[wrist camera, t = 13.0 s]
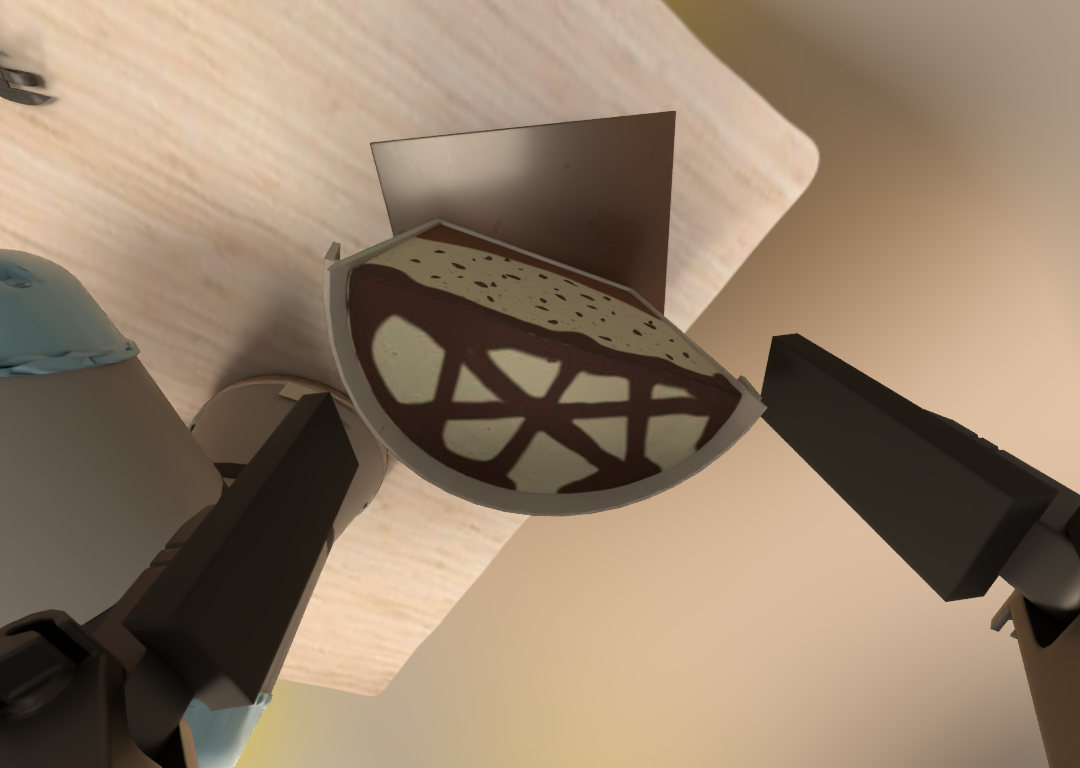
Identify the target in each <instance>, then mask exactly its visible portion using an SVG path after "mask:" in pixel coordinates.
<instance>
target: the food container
mask: <svg viewBox="0 0 1080 768" xmlns="http://www.w3.org/2000/svg"><path fill="white" fill-rule="evenodd" d="M323 299H324V306H325V314H326V321H327V329H328V335H329V340H330V346H331V349H332V352H333V356H334V359H335V362H336V365H337V368H338V371H339V375H340V378H341V381H342V383H343V384H344V386H345V388H346V390H347V392H348V394H349V396H350V398H351V400H352V402H353V404H354V406H355V408H356V410H357V412H358V413H359V414H360V416H361V417H362V419H363V420H364V421H365V423H366V424H367V425H368V427H369V428H370V430H371V431H372V432H373V434H374V435H375V436H376V438H377V439H378V440H379V441H380V442H381V443H382V444H383V445H384V446H385V447H386V448H387V449H388V450H389V451H390V452H391V453H392V454H393V455H394V456H395V457H396V458H397V459H398V460H399V461H400V462H402V463H403V464H404V465H406V466H407V467H408V468H410V469H411V470H412V471H414V472H415V473H416V474H418V475H419V476H420V477H422V478H423V479H425V480H426V481H428V482H430V483H432V484H433V485H435V486H437V487H439V488H441V489H442V490H444V491H446V492H448V493H450V494H452V495H455V496H457V497H460V498H462V499H465V500H467V501H469V502H472V503H474V504H477V505H481V506H485V507H489V508H492V509H496V510H500V511H504V512H510V513H517V514H525V515H532V516H571V515H582V514H592V513H597V512H602V511H607V510H611V509H616V508H621V507H624V506H627V505H630V504H633V503H636V502H639V501H642V500H645V499H648V498H650V497H653V496H655V495H657V494H659V493H662V492H664V491H666V490H668V489H670V488H673V487H675V486H676V485H678V484H680V483H682V482H683V481H685V480H687V479H688V478H690V477H692V476H693V475H695V474H697V473H699V472H700V471H702V470H703V469H704V468H706V467H707V466H708V465H709V464H711V463H712V462H714V461H715V460H716V459H718V458H719V457H720V456H722V455H723V454H724V453H726V451H728V450H729V449H730V448H731V447H732V446H733V445H734V444H735V443H736V442H737V441H738V440H739V439H740V438H741V437H742V436H743V435H744V434H745V433H746V432H747V431H748V430H749V429H750V428H751V427H752V426H753V424H754V423H755V422H756V421H757V420H758V418H759V417H760V416H761V415H762V414H763V413H764V411H765V410H766V409H767V407H766V406H765V405H764V404H763V403H762V402H761V401H760V400H761V399H762V397H761V396H760V395H759V393H758V392H757V391H756V390H755V389H754V387H752V385H751V384H750V383H749V382H748V380H747V379H746V378H745V377H743V376H740V377H739V378H738V379H736V378H735V377H733V376H732V375H731V374H730V373H728V371H726V370H725V369H724V368H723V367H722V366H721V365H719V364H718V363H717V362H716V361H715V360H714V359H713V358H712V357H710V356H709V355H708V354H707V353H706V352H705V351H703V350H702V349H701V348H700V347H699V346H698V345H697V344H695V343H694V342H693V341H692V340H691V339H690V338H689V337H687V336H686V335H685V334H684V333H683V332H682V331H681V330H679V329H678V328H677V327H676V326H675V325H674V324H672V323H671V322H670V321H669V320H668V319H667V318H666V317H664V316H663V315H662V314H661V313H660V312H659V311H658V310H656V309H655V308H654V307H653V306H652V305H651V304H650V303H648V302H647V301H646V300H645V299H644V298H643V297H641V296H640V295H639V294H638V293H637V292H636V291H635V290H633V289H631V288H629V287H626V286H623V285H620V284H618V283H615V282H612V281H609V280H607V279H604V278H601V277H598V276H595V275H593V274H590V273H587V272H584V271H582V270H579V269H576V268H573V267H571V266H568V265H565V264H562V263H560V262H557V261H554V260H551V259H549V258H546V257H543V256H540V255H538V254H535V253H532V252H529V251H527V250H524V249H521V248H518V247H515V246H513V245H510V244H507V243H504V242H502V241H499V240H496V239H493V238H491V237H488V236H485V235H482V234H480V233H477V232H474V231H471V230H469V229H466V228H463V227H460V226H458V225H455V224H452V223H449V222H446V221H444V220H441V219H438V218H436V219H434V220H432V221H430V222H427V223H425V224H423V225H420V226H418V227H416V228H414V229H411V230H409V231H407V232H404V233H402V234H400V235H398V236H395V237H393V238H391V239H388V240H386V241H384V242H382V243H379V244H377V245H375V246H372V247H370V248H368V249H366V250H363V251H361V252H359V253H356V254H354V255H352V256H350V257H347V258H345V259H343V260H340V244H339V243H335V242H333V243H332V245H331V247H330V249H329V251H328V253H327V255H326V257H325V258H324V286H323Z"/></svg>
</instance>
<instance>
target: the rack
mask: <svg viewBox="0 0 1080 768" xmlns="http://www.w3.org/2000/svg"><path fill="white" fill-rule="evenodd" d="M675 119H676V111H668V112H658V113H649V114H639V115H630V116H620V117H611V118H601V119H592V120H582V121H573V122H563V123H553V124H544V125H534V126H525V127H515V128H506V129H496V130H487V131H477V132H468V133H458V134H449V135H439V136H429V137H420V138H410V139H401V140H391V141H382V142H372V143H370V146H371V150H372V154H373V157H374V161H375V165H376V169H377V173H378V177H379V181H380V185H381V189H382V193H383V196H384V200H385V204H386V208H387V212H388V216H389V220H390V224H391V228H392V231H393V235H394V237H395V236H398V235H400V234H402V233H404V232H407V231H409V230H411V229H414V228H416V227H418V226H420V225H423V224H425V223H427V222H430V221H432V220H434V219H436V218H438V219H441V220H444V221H446V222H449V223H452V224H455V225H458V226H460V227H463V228H466V229H469V230H471V231H474V232H477V233H480V234H482V235H485V236H488V237H491V238H493V239H496V240H499V241H502V242H504V243H507V244H510V245H513V246H515V247H518V248H521V249H524V250H527V251H529V252H532V253H535V254H538V255H540V256H543V257H546V258H549V259H551V260H554V261H557V262H560V263H562V264H565V265H568V266H571V267H573V268H576V269H579V270H582V271H584V272H587V273H590V274H593V275H595V276H598V277H601V278H604V279H607V280H609V281H612V282H615V283H618V284H620V285H623V286H626V287H629V288H631V289H633V290H635V291H636V292H637V293H638V294H639V295H640V296H641V297H643V298H644V299H645V300H646V301H647V302H648V303H650V304H651V305H652V306H653V307H654V308H655V309H656V310H658V311H659V312H660V313H661V314H662V315H663V316H664V303H665V287H666V270H667V253H668V236H669V220H670V203H671V186H672V169H673V153H674V136H675Z"/></svg>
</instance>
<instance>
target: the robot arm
mask: <svg viewBox="0 0 1080 768" xmlns="http://www.w3.org/2000/svg"><path fill="white" fill-rule="evenodd" d="M138 353H140V350H139V348H138V347H137V345H136V344H135V342H133V341H131V340H129V339H127V338H124V337H123V335H122V334H121V333H120V332H119V330H118V329H117V328H116V327H115V325H114V324H113V323H112V322H111V320H110V319H109V318H108V317H107V315H106V314H105V313H104V311H103V310H102V309H101V308H100V306H99V305H98V304H97V303H96V301H95V300H94V299H93V298H92V296H91V295H90V294H89V293H88V291H87V290H86V289H85V287H84V286H83V285H82V284H81V282H80V281H79V280H78V279H77V278H76V277H75V276H73V275H72V274H71V273H70V272H68V271H67V270H66V269H64V268H63V267H61V266H60V265H58V264H56V263H54V262H52V261H50V260H47V259H45V258H42V257H40V256H37V255H33V254H30V253H26V252H22V251H16V250H9V249H0V768H233V767H234V766H235V765H236V763H237V761H238V760H239V758H240V756H241V754H242V752H243V750H244V748H245V746H246V744H247V742H248V740H249V738H250V736H251V734H252V732H253V730H254V728H255V726H256V724H257V722H258V720H259V718H260V716H261V715H262V712H263V711H264V709H265V708H266V707H267V706H268V705H269V703H270V701H271V699H272V694H271V692H272V689H273V687H274V685H275V682H276V680H277V678H278V675H279V673H280V670H281V668H282V665H283V663H284V660H285V658H286V656H287V653H288V651H289V648H290V646H291V643H292V641H293V639H294V636H295V634H296V631H297V629H298V626H299V624H300V622H301V619H302V617H303V614H304V612H305V609H306V607H307V605H308V602H309V600H310V597H311V595H312V593H313V590H314V588H315V586H316V583H317V581H318V578H319V576H320V574H321V571H322V569H323V567H324V564H325V562H326V559H327V557H328V555H329V552H330V550H331V548H332V545H333V543H334V542H335V541H336V539H337V538H338V537H339V536H340V535H341V534H342V532H343V531H344V530H345V529H346V527H347V526H348V525H349V524H350V523H351V521H352V520H353V519H354V518H355V517H356V516H358V515H359V514H360V513H361V512H362V511H363V510H364V509H365V508H366V507H367V506H368V505H369V504H370V503H371V501H372V500H373V498H374V497H375V495H376V493H377V492H378V490H379V488H380V486H381V483H382V481H383V478H384V475H385V472H386V468H387V461H388V458H387V448H386V447H385V446H384V445H383V444H382V443H381V442H380V441H379V440H378V439H377V438H376V436H375V435H374V434H373V432H372V431H371V430H370V428H369V427H368V425H367V424H366V423H365V421H364V420H363V419H362V417H361V416H360V414H359V413H358V412H357V410H356V408H355V406H354V404H353V402H352V400H351V399H350V398H349V397H347V396H346V395H344V394H342V393H341V392H339V391H337V390H335V389H333V388H331V387H329V386H326V385H324V384H321V383H318V382H315V381H312V380H308V379H304V378H300V377H294V376H285V375H265V376H257V377H251V378H248V379H244V380H241V381H238V382H236V383H233V384H232V385H230V386H228V387H226V388H225V389H223V390H222V391H220V392H219V393H218V394H217V395H216V396H214V397H213V398H212V399H211V400H210V401H209V402H207V403H206V404H205V405H204V406H203V408H202V409H201V410H200V411H199V413H198V414H197V415H196V417H195V418H194V419H193V421H192V423H191V425H190V427H189V429H188V428H187V426H186V425H185V424H184V422H183V421H182V419H181V418H180V417H179V415H178V414H177V412H176V411H175V410H174V408H173V407H172V405H171V404H170V403H169V401H168V400H167V398H166V397H165V396H164V394H163V393H162V391H161V390H160V388H159V387H158V386H157V384H156V383H155V381H154V380H153V379H152V377H151V376H150V374H149V373H148V372H147V370H146V369H145V367H144V366H143V365H142V363H141V362H140V360H139V359H138V358H137V356H136V355H137V354H138ZM761 397H762V399H761V400H760V401H761V402H762V403H763V404H764V405H765V406H766V407H767V409H766V410H765V411H764V413H763V414H762V415H761V417H762V418H763V419H764V420H765V421H766V422H767V423H768V424H769V425H770V426H771V427H772V428H773V429H774V430H775V431H776V432H777V433H778V434H779V435H780V436H781V437H782V438H783V439H784V440H785V441H786V442H787V443H788V444H789V445H790V446H791V447H792V448H793V449H794V450H795V451H796V452H797V453H798V454H799V455H800V456H801V457H802V458H803V459H804V460H805V461H806V462H807V463H808V464H809V465H810V466H811V467H812V468H813V469H814V470H815V471H816V472H817V473H818V474H819V475H820V476H821V477H822V478H823V479H824V480H825V481H826V482H827V483H828V484H829V485H830V486H831V487H832V488H833V489H834V490H835V491H836V492H837V493H838V494H839V495H840V496H841V497H842V498H843V499H844V500H845V501H846V502H847V503H848V504H849V505H850V506H851V507H852V508H853V509H854V510H855V511H856V512H857V513H858V514H859V515H860V516H861V517H862V518H863V519H864V520H865V521H866V522H867V523H868V524H869V525H870V526H871V527H872V528H873V529H874V530H875V532H877V534H879V535H880V536H881V538H882V539H883V540H885V542H886V543H887V544H888V545H890V547H891V548H892V549H893V550H895V552H896V553H897V554H899V556H900V557H902V559H903V560H904V561H905V562H906V563H907V564H908V565H909V566H910V567H911V568H912V569H913V570H914V571H916V573H917V574H918V575H919V576H920V577H922V579H923V580H924V581H925V582H926V583H928V585H929V586H930V587H931V588H932V589H933V590H934V591H935V592H936V593H937V594H938V595H939V596H940V597H942V599H943V600H944V601H945V602H948V601H956V600H962V599H969V598H975V597H982V596H984V595H985V594H986V593H987V591H988V590H989V588H990V587H991V586H992V584H993V583H994V581H995V580H996V579H997V577H998V576H1001V577H1002V578H1003V579H1004V580H1005V581H1007V582H1008V583H1009V584H1010V585H1011V586H1013V587H1014V588H1015V590H1014V592H1013V593H1012V594H1011V595H1010V597H1009V598H1008V599H1007V601H1006V602H1005V603H1004V604H1003V606H1002V607H1001V608H1000V610H999V611H998V612H997V613H996V615H995V616H994V618H993V619H992V621H991V629H993V630H995V631H1000V629H1001V628H1002V627H1003V626H1004V624H1005V623H1006V622H1007V621H1008V620H1013V623H1014V627H1015V630H1014V631H1013V632H1012V633H1011V637H1013V638H1016V639H1018V643H1019V647H1020V651H1021V655H1022V659H1023V663H1024V667H1025V671H1026V675H1027V679H1028V683H1029V687H1030V691H1031V695H1032V699H1033V703H1034V707H1035V711H1036V715H1037V719H1038V723H1039V727H1040V731H1041V735H1042V739H1043V743H1044V747H1045V751H1046V755H1047V759H1048V763H1049V767H1050V768H1080V495H1079V494H1078V493H1076V492H1074V491H1072V490H1071V489H1069V488H1067V487H1066V486H1064V485H1062V484H1060V483H1059V482H1057V481H1056V480H1054V479H1052V478H1050V477H1049V476H1047V475H1045V474H1044V473H1042V472H1040V471H1038V470H1037V469H1035V468H1033V467H1031V466H1030V465H1028V464H1027V463H1025V462H1023V461H1021V460H1020V459H1018V458H1016V457H1015V456H1013V455H1011V454H1009V453H1008V452H1006V451H1004V450H999V449H998V446H996V445H994V444H993V443H991V442H989V441H988V440H986V439H984V438H978V435H977V434H975V433H974V432H972V431H970V430H969V429H967V428H965V427H964V426H962V425H960V424H959V423H957V422H955V421H954V420H951V419H948V418H946V417H943V416H941V415H938V414H935V413H933V412H930V411H927V410H925V409H922V408H921V407H919V406H917V405H916V404H914V403H912V402H911V401H909V400H907V399H906V398H904V397H902V396H900V395H899V394H897V393H895V392H894V391H892V390H891V389H889V388H887V387H885V386H884V385H882V384H881V383H879V382H877V381H876V380H874V379H872V378H871V377H869V376H867V375H866V374H864V373H862V372H861V371H859V370H858V369H856V368H854V367H853V366H851V365H849V364H847V363H846V362H844V361H842V360H841V359H839V358H838V357H836V356H834V355H833V354H831V353H829V352H828V351H826V350H824V349H823V348H821V347H819V346H818V345H816V344H814V343H812V342H811V341H809V340H808V339H806V338H804V337H803V336H801V335H799V334H798V333H796V334H788V335H780V336H773V337H772V342H771V347H770V352H769V357H768V362H767V367H766V372H765V377H764V382H763V387H762V392H761Z"/></svg>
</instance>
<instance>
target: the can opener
mask: <svg viewBox="0 0 1080 768" xmlns="http://www.w3.org/2000/svg"><path fill="white" fill-rule="evenodd" d="M8 81H10V82H13V83H16V84H19V85H23V86H38V84H37V81H36V79H35V76H34V74H32V73H28V72H23V71H18V70H12V69H6V68H1V67H0V96H1V97H2V98H5V99H7V100H10V101H13V102H17V103H21V104H26V105H37V104H40V103H43V102H45V101H46V100H48V99H50V98H51V97H49V96H44V95H40V94H36V93H32V92H27V91H23V90H19V89H14V88H10V86H9V84H8Z"/></svg>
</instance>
